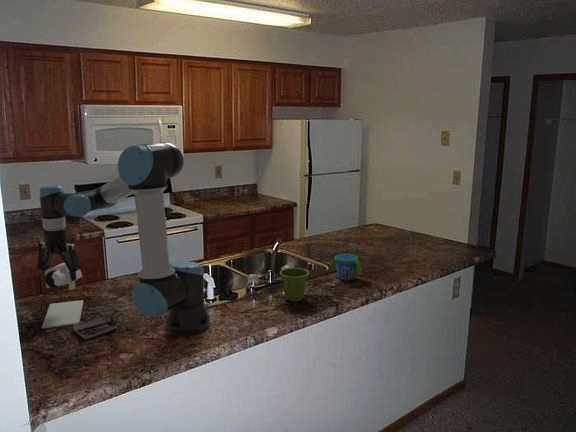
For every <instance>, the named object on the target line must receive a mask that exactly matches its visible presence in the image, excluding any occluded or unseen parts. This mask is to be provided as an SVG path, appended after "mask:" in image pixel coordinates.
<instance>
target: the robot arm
mask: <svg viewBox="0 0 576 432" xmlns="http://www.w3.org/2000/svg"><path fill="white" fill-rule="evenodd" d="M119 155H120V156H119V158H118V162H117V172H118V175H119V176H117V177H116V178H114V179H112V180H110V181H109V182H106V183H105V184H103V185H102V186H99V187H98V188H95V189H91V190H90V189H89V190H86V191H85V190H84V191H79V192H74V193H67V192H64V190H63V187H62V186H61V185H58V184H57V185H56V184H54V185H44V186H41V187H40V188H39V199H38V200H39V202H40V211H41V221H42V229H44V230H43V237H44V240H45V241H41V242H39V243H37V247H38V255H37V269H39V270H41V271H42V272H43V279H44V280H45V276H46V274H47V273H49V272H50V270H49V269H50V268H51V263H52V261H53V258H54V255H55V254H57V255H59V257H61V258H62V260H63V263H65V264H66V266H67V268H68V270H69V272H68V283H69V284H68V290H69V291H73V289H75V288H76V281H77V280H76V271H78V270H79V269H80V270H81V269H82V268H81V265H80V261H79V258H78V254H77V250H76V244H75V243H68V240H67V238H68V233H67V232H68V231H67V228H66V227H67V222H66V221H67V220H66V216H71V217H85V216H86V215H87V214H88V213H90V212H94V211H98V210H102V209H109V208H112V207H114V206H116V205H117V203H118V202H119V201H121V200H123V199H124V198H127V197H129V196H131V195H132V194H133V195H134V201H135V211H136V221H137V229H138V230H137V231H138V240H139V249H140V258H141V270H140V271H139V272H138V274H137V275H138V276H137V277H138V283H137V284H135V286H134V287H133V289H132V291H131V293H132V294H131V295H132V301H133V304H134V305H135V307H136V308H137V309H138V310H139V311H140V312H141V313H142V314H144V315H145V316H147V317H158V316H160V315H163V314H166V313H167V312H168V315H167V318H166V330H167V331H168V332H169V333H172V334H174V335H185V336H187V335H194V334H198V333H201V332H204V331H205V330H208V328H209V327H210V326H211V319H210V315H209V313H208V312H209V311H208V309H207V308H206V305H205V293H204V292H205V291H204V272H203V271H204V270H203V266H202V265H201V264H200V263H198V262H194V261H184V260H183V261H173V262H170V250H169V242H168V241H169V240H168V231H167V230H168V229H167V221H166V219H167V218H166V210H165V202H164V201H165V200H164V191H166V189H167V188H168V179H172V178H174V177H176V176H178V175H179V174H180V172H182V170H183V167H184V162H185V159H184V155H183V152H182V151H181V150H180V149H179V147H177V146H176V145H175V144H173V143H170V142H156V143H155V142H154V143H139V144H135V145H134V144H133V145H130V146H128V147H126V148H125V149H123V151H122V153H121V154H119ZM75 280H76V281H75ZM45 287H46V289H49V288H51V287H50V286H48V285H47V283H46V282H45Z"/></svg>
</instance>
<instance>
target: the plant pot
mask: <svg viewBox="0 0 576 432" xmlns="http://www.w3.org/2000/svg"><path fill="white" fill-rule="evenodd" d="M279 274H280V275H281V280H282V283H283V284H282V286H283V291H284V296H285V299H286V300H287V301H289V302H295V303H296V302H301V301H302V300H303V299H304V296H305V290H306V285H307V284H306V283H307V281H308V277H309V274H310V271H309V270H307V269H305V268H301V267H288V268H284V269H281V270H280V271H279Z"/></svg>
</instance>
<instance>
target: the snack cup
mask: <svg viewBox="0 0 576 432" xmlns="http://www.w3.org/2000/svg"><path fill="white" fill-rule="evenodd" d="M331 267H332V269H335V268H336V272H337V273H336V276H337V278H338V279H339V280H340V281H344V282H347V281H353V280H355V277H356V276H360V275H361V274H362V273H363V272H362V265H361V262H360V261H359V256H357V255H355V254H351V253H342V254H341V253H340V254H338V255H335V256H334V257H333V258H332V262H331ZM356 272H357V273H356ZM356 274H357V275H356Z"/></svg>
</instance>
